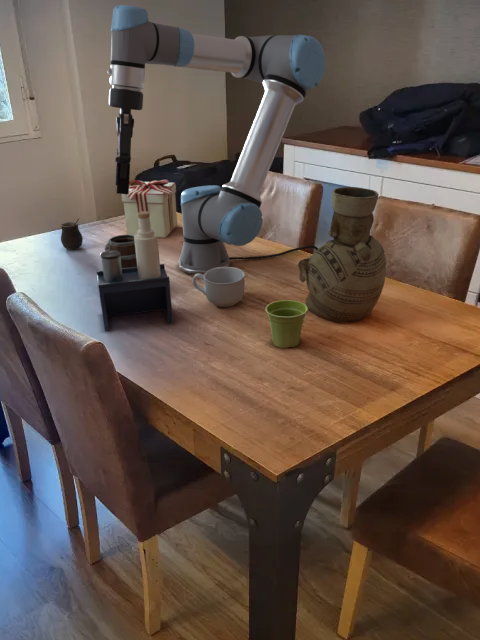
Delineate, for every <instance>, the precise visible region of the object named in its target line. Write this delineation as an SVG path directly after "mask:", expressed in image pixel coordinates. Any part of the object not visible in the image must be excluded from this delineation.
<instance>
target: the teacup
mask: <svg viewBox="0 0 480 640" xmlns="http://www.w3.org/2000/svg"><path fill="white" fill-rule="evenodd" d="M245 277H246V272H244V270H242V269H240V268H238V267H233V266H229V267H217V268H213V269H210V270H208V271H207V272H206V273H205V274H204V275H203V274H200V273H198V274H195V275H193V276H192V280H191V282H192V285H193V287H194V288H195V289H196V290H198V291H200V292H201V293H202V294H203V296H205V297H206V299H207V300H208V302H210V303H211V304H213V305H214V306H216V307H220V308H228V307H229V308H230V307H233V306H235V305H236V304H237V303H239V302H240V301H241V300H242V299H243V298H244V295H245V289H246V287H245V285H246V282H245V281H246V278H245ZM198 278H199V279H201V281H202V282H203V285H204V287H202V286H201V285H200V284H199V283H198V282H197V279H198Z"/></svg>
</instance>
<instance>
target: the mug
mask: <svg viewBox="0 0 480 640" xmlns="http://www.w3.org/2000/svg"><path fill="white" fill-rule="evenodd" d="M111 250H115V251H119V252H120V253H121V264H122V268H130V267H137V260H136V251H135V242H134V236H133V235H127V234H119V235H115V236H112V237H110V238H108V241H107V242H106V244H105V246H104V252H105V251H111Z"/></svg>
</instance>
